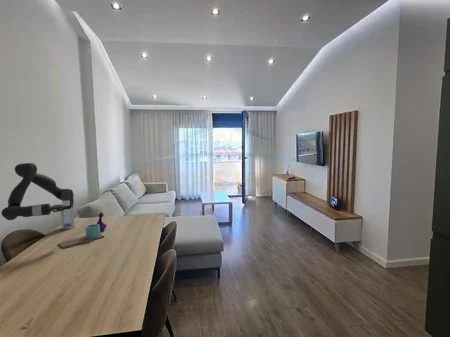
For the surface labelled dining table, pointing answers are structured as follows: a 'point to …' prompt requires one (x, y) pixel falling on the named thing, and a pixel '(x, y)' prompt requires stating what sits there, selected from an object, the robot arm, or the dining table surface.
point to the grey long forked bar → (67, 211)
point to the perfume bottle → (102, 225)
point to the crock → (92, 231)
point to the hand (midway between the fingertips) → (71, 206)
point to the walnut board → (77, 241)
